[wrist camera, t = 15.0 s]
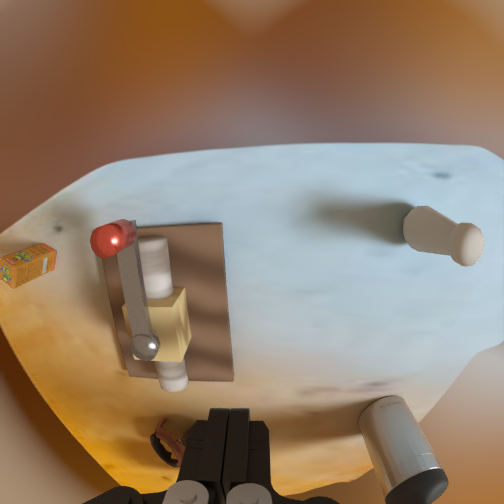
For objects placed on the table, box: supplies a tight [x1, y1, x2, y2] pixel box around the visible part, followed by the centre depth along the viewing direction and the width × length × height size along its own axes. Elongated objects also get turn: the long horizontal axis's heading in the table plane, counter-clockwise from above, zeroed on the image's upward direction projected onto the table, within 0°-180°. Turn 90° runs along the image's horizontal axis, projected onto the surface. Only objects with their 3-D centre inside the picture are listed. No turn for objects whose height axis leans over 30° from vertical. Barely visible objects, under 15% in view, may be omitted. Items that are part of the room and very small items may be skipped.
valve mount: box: [102, 223, 234, 392], centre depth 34 cm, size 22×16×9 cm
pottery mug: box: [150, 419, 190, 467], centre depth 42 cm, size 12×10×8 cm
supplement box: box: [0, 244, 57, 289], centre depth 32 cm, size 3×4×10 cm
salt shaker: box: [403, 206, 484, 266], centre depth 29 cm, size 6×6×13 cm
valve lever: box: [90, 219, 161, 361], centre depth 26 cm, size 15×3×5 cm, turn 3°
